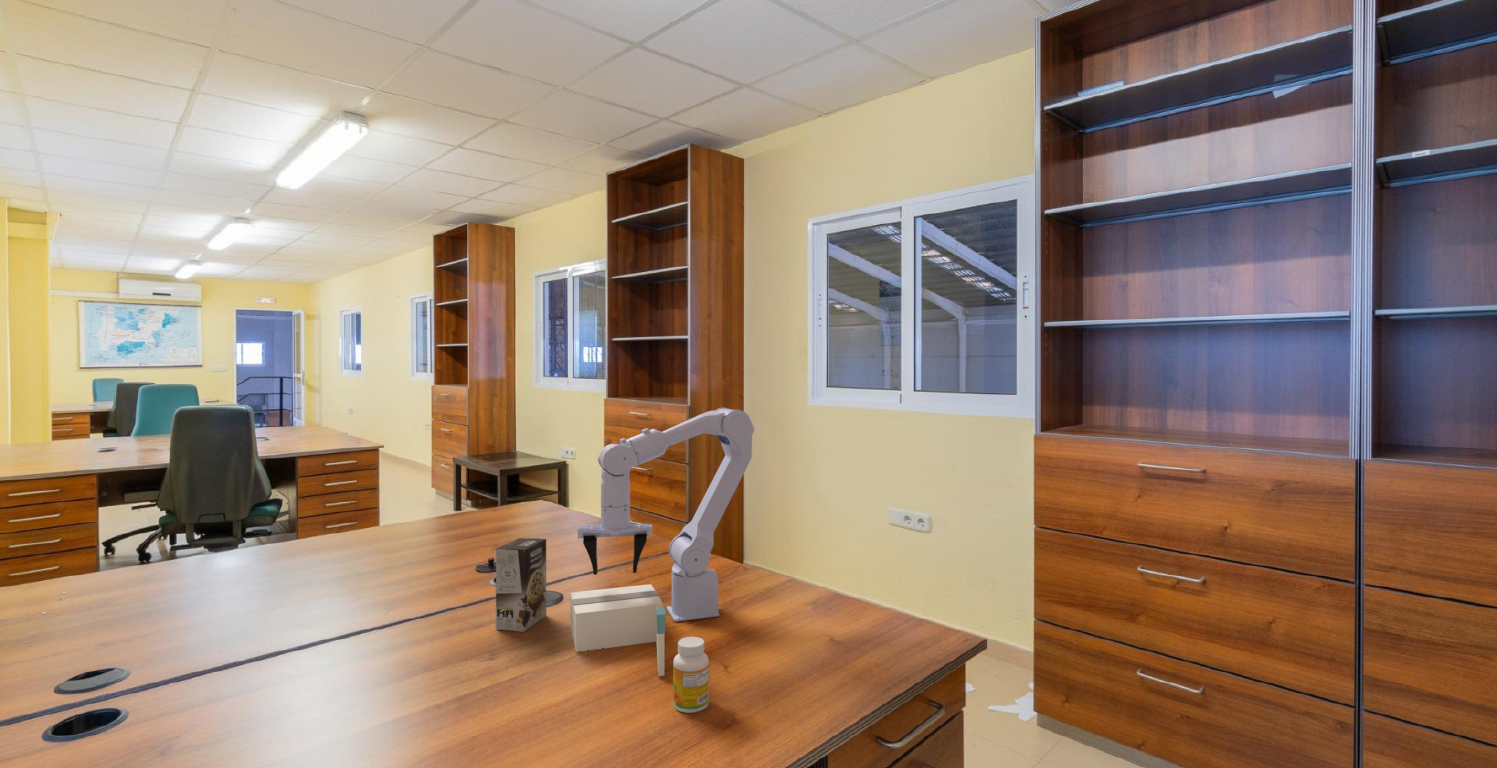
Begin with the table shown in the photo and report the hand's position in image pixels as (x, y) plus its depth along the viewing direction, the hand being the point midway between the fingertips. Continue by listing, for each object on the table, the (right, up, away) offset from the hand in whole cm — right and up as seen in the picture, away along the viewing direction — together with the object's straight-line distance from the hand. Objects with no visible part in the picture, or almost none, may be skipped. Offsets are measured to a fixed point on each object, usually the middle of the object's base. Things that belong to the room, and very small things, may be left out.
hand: (615, 572), depth 134 cm
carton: (+1, -11, -5) cm, 12 cm away
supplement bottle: (+18, -12, -32) cm, 38 cm away
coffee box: (-19, -11, +1) cm, 22 cm away
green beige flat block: (+11, -11, -16) cm, 22 cm away
